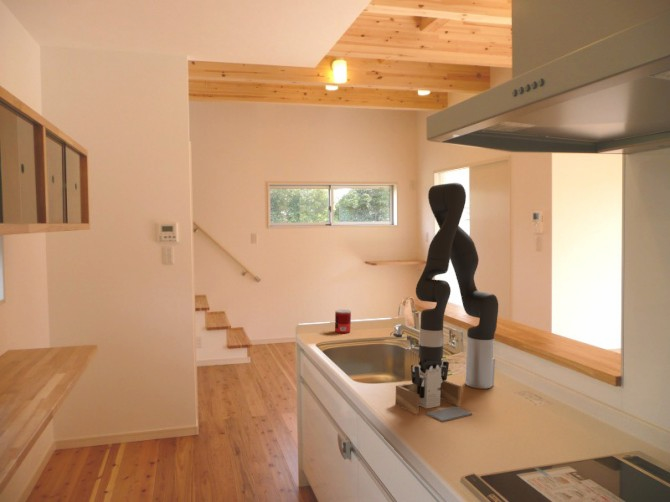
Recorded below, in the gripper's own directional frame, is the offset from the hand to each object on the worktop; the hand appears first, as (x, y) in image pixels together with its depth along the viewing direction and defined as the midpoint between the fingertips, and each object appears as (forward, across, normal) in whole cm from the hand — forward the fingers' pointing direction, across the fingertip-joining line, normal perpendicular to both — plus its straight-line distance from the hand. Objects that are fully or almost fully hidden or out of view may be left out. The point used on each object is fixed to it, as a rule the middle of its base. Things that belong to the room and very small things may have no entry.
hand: (429, 395), depth 168 cm
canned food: (+3, -33, -102) cm, 108 cm away
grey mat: (+3, 0, +9) cm, 10 cm away
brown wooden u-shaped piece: (+3, 0, 0) cm, 3 cm away
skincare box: (+3, 0, 0) cm, 3 cm away
